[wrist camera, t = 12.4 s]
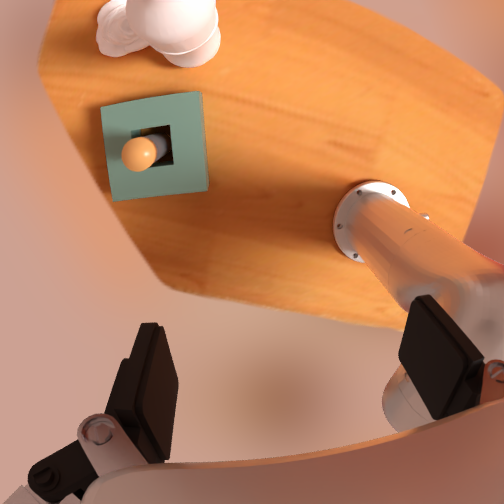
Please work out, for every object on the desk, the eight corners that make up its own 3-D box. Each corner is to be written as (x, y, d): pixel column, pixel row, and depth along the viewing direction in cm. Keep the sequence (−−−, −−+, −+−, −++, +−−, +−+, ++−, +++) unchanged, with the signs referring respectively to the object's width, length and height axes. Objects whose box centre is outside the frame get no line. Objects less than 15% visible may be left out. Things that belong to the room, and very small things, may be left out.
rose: (107, -21, 25) (174, -7, 27) (118, -11, 29) (179, 4, 31) (72, 45, 29) (136, 63, 31) (86, 50, 33) (146, 67, 35)
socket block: (201, 93, 37) (198, 90, 33) (209, 183, 42) (207, 191, 38) (113, 107, 36) (100, 107, 32) (123, 192, 41) (113, 201, 37)
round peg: (171, 129, 38) (152, 135, 28) (174, 155, 40) (155, 169, 30) (146, 133, 38) (119, 140, 28) (149, 158, 40) (123, 173, 30)
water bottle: (175, 16, 32) (114, -79, 9) (228, 27, 33) (227, -73, 11) (158, 64, 35) (70, 13, 12) (211, 75, 36) (184, 22, 13)
